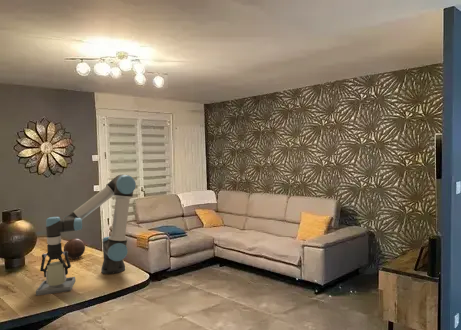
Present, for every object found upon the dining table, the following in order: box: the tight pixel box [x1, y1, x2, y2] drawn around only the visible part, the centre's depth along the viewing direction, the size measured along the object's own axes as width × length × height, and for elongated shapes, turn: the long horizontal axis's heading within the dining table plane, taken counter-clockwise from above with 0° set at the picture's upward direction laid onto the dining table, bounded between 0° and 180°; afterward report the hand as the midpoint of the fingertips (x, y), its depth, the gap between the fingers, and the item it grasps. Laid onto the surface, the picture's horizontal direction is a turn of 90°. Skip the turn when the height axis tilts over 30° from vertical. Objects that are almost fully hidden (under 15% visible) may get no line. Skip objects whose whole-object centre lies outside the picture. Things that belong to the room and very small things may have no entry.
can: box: [46, 260, 65, 286], centre depth 211 cm, size 9×9×12 cm
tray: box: [35, 276, 76, 297], centre depth 212 cm, size 18×18×2 cm
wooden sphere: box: [63, 238, 86, 260], centre depth 273 cm, size 15×15×15 cm
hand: (56, 281), depth 211 cm, fingers closed on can, 9 cm apart
